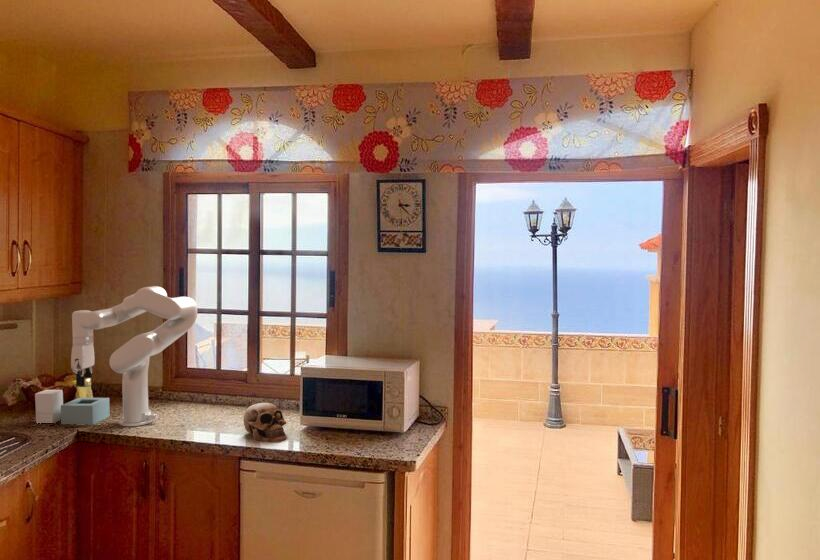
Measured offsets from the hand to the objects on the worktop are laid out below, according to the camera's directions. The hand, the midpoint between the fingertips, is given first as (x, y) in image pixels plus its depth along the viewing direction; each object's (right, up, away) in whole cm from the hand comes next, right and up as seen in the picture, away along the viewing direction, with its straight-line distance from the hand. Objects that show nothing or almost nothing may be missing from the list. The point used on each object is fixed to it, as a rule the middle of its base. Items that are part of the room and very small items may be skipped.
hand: (84, 384), depth 254 cm
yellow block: (0, -1, 0) cm, 1 cm away
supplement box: (-14, -16, 0) cm, 21 cm away
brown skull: (+79, -17, -19) cm, 83 cm away
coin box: (0, -15, +1) cm, 15 cm away
